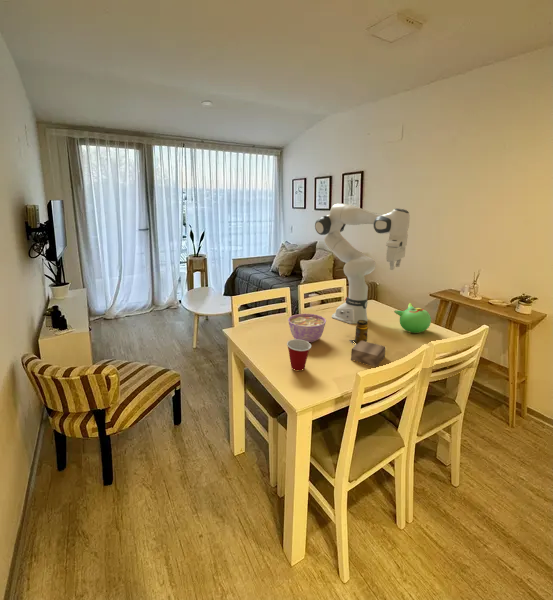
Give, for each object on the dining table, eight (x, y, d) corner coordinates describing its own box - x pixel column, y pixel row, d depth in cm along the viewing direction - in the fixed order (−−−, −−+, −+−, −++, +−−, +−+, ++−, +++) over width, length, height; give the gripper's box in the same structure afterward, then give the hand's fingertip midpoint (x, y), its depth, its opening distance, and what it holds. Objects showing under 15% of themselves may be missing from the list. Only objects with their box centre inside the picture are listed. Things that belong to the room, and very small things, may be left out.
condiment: (369, 344, 174) (371, 323, 171) (354, 346, 172) (356, 324, 169) (363, 339, 181) (364, 318, 178) (348, 340, 179) (350, 319, 176)
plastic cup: (306, 376, 143) (307, 350, 139) (282, 371, 147) (283, 346, 143) (313, 365, 152) (314, 341, 149) (291, 361, 156) (291, 337, 153)
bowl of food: (282, 344, 174) (283, 323, 171) (294, 330, 192) (294, 311, 189) (320, 350, 168) (321, 328, 164) (328, 335, 186) (329, 316, 182)
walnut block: (350, 360, 158) (351, 348, 156) (360, 351, 167) (361, 340, 165) (375, 367, 151) (376, 355, 149) (384, 357, 160) (385, 346, 159)
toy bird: (418, 339, 181) (422, 314, 176) (390, 330, 193) (393, 306, 189) (434, 331, 192) (438, 307, 187) (407, 323, 204) (410, 300, 200)
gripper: (397, 239, 181) (394, 264, 185) (385, 243, 165) (382, 270, 169) (409, 240, 177) (406, 265, 181) (398, 244, 161) (394, 272, 165)
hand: (394, 268), depth 175 cm, fingers open, 8 cm apart
